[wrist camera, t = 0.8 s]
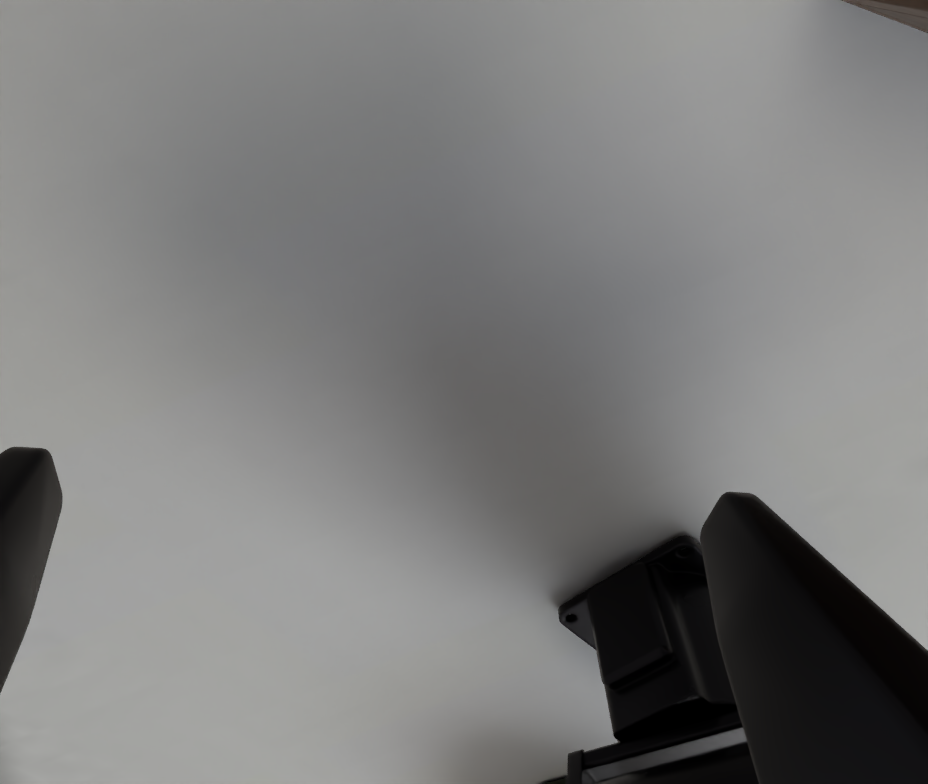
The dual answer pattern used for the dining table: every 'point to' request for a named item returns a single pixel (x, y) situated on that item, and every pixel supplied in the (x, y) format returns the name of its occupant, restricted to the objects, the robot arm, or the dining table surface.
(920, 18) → the chest
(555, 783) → the sushi
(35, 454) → the robot arm
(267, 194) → the dining table surface
